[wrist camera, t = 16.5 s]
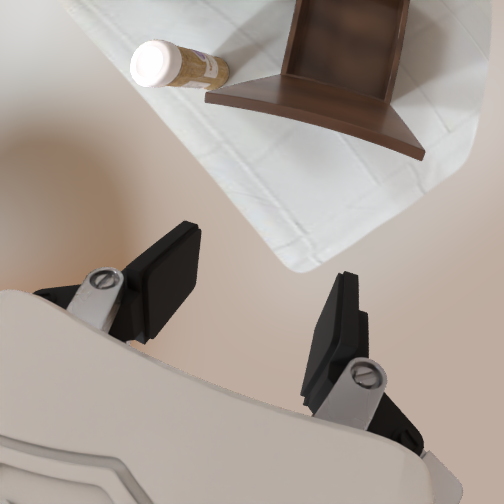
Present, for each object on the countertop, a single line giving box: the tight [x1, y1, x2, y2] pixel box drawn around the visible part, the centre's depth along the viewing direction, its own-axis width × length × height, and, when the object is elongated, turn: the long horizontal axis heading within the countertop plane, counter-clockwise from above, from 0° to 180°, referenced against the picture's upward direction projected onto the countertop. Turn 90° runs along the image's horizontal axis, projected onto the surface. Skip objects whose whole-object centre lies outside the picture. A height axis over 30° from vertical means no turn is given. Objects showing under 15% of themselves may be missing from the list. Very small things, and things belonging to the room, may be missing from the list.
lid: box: [205, 75, 425, 161], centre depth 19 cm, size 16×11×1 cm
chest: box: [280, 0, 410, 104], centre depth 23 cm, size 15×11×5 cm
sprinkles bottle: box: [130, 39, 229, 90], centre depth 26 cm, size 5×5×14 cm
